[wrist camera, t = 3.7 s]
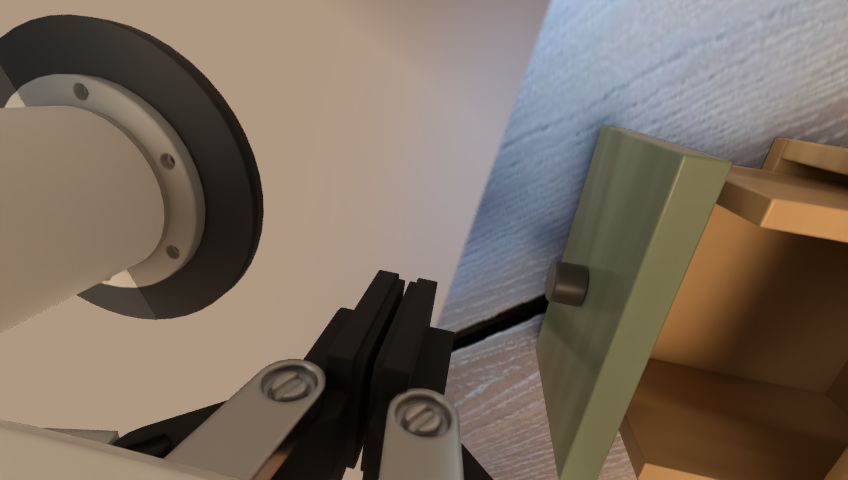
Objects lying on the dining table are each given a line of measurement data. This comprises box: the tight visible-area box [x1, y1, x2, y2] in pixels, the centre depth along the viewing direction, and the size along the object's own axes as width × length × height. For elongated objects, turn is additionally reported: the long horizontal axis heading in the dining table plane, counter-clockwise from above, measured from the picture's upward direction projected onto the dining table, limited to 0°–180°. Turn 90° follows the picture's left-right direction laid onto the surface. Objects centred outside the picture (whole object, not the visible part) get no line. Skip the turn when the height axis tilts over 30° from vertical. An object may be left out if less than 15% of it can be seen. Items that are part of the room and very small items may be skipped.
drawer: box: [536, 125, 848, 480], centre depth 15 cm, size 15×11×8 cm
